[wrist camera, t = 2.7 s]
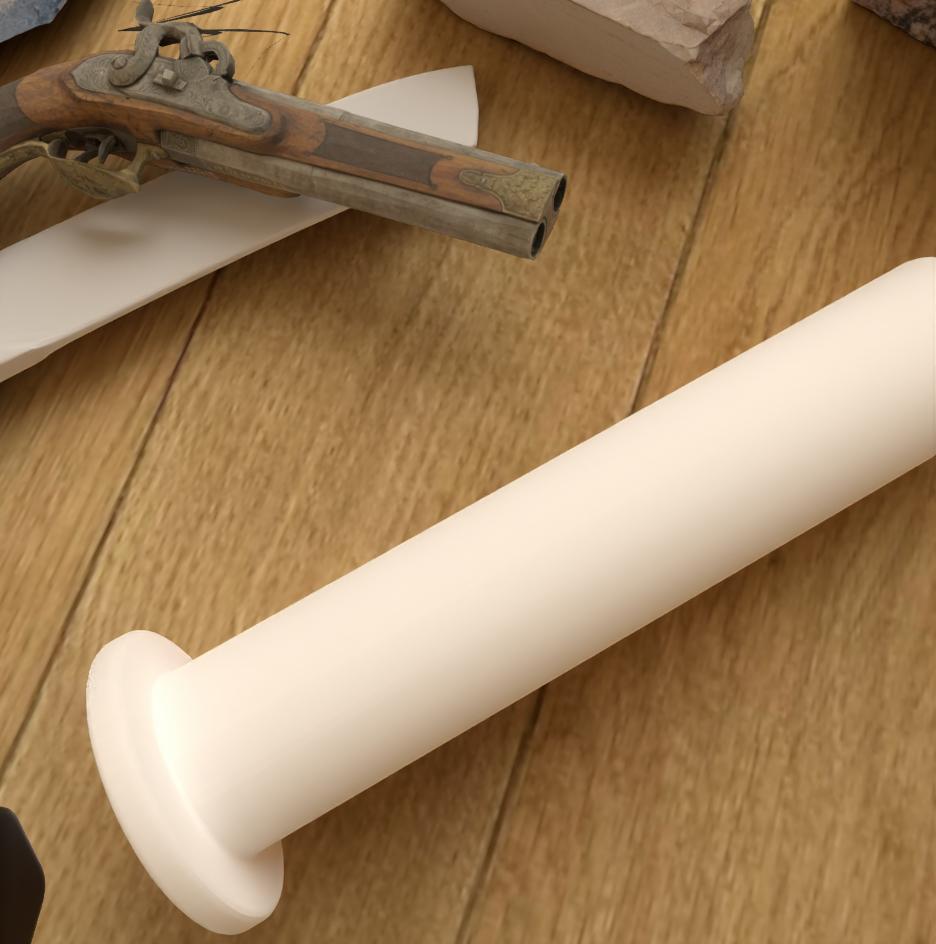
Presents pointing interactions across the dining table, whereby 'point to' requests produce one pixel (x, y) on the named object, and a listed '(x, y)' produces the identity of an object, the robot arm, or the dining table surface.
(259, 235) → the kitchen knife
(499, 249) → the flintlock pistol
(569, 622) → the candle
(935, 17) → the stone block
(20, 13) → the rock
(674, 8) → the stone
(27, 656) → the dining table surface
